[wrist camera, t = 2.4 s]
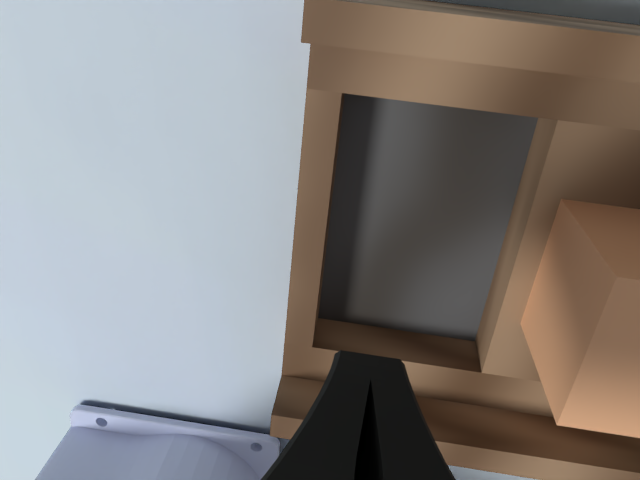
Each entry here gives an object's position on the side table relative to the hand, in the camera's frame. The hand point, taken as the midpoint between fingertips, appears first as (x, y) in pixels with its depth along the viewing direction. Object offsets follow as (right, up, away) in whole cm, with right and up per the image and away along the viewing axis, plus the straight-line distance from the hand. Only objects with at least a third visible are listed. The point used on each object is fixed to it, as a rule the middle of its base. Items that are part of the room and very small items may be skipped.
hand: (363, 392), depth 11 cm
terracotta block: (+8, +2, +6) cm, 10 cm away
